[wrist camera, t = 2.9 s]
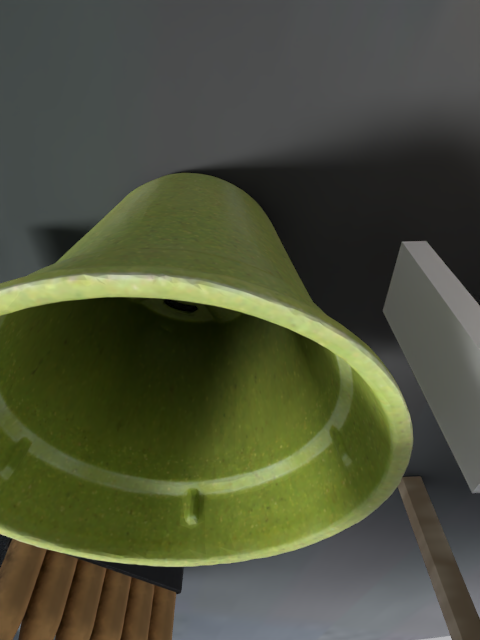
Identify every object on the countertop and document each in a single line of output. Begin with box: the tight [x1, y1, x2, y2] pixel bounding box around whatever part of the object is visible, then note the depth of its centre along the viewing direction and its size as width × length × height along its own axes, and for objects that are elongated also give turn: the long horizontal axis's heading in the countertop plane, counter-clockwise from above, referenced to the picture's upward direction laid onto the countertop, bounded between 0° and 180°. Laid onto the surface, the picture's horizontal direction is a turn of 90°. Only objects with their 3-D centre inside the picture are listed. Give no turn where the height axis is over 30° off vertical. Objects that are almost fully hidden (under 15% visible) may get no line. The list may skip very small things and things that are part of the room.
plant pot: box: [0, 173, 413, 567], centre depth 11 cm, size 9×9×9 cm
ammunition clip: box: [0, 537, 184, 640], centre depth 19 cm, size 11×2×12 cm, turn 38°
